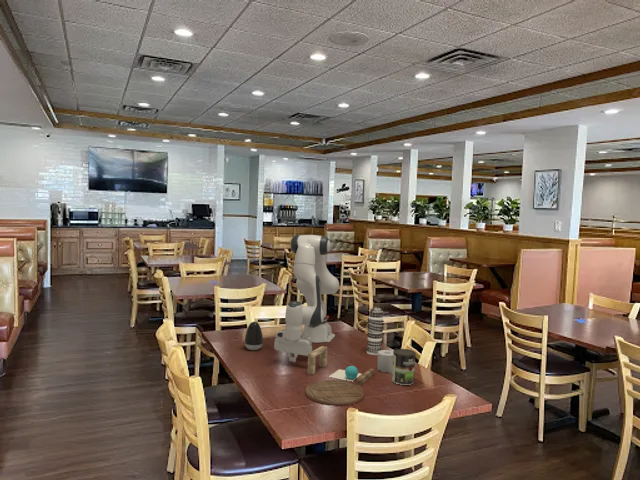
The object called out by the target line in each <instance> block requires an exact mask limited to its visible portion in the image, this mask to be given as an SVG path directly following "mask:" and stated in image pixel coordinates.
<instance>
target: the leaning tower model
mask: <svg viewBox="0 0 640 480" xmlns="http://www.w3.org/2000/svg"><path fill="white" fill-rule="evenodd" d="M368 312H369V313H368V318H367V319H366V321H367V323H366V324H367V325H366V326H367V330H366V331H367V339H366V344H367V345H366V353H367V354H368V355H372V356H378V351H380V350H383V332H384V327H383V326H384V325H385V324H384V322H385V321H384V310H383V309H382V308H381V307H377V306H374V307H373V306H372V307H371V308H370V309H368Z"/></svg>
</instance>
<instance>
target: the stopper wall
mask: <svg viewBox="0 0 640 480" xmlns="http://www.w3.org/2000/svg"><path fill="white" fill-rule="evenodd" d="M372 375H373V376H374V375H375V369H374V368H369V369H368V370H367V371H365V372H364V373H362V375H360V376H359V377H358V378H357V379H355V384H356V385H358V386H360V387H362V385H363V384H365V383H366V382H367V381H368V380H369V379H370V378H372V377H373V376H372ZM365 381H366V382H365Z"/></svg>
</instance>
